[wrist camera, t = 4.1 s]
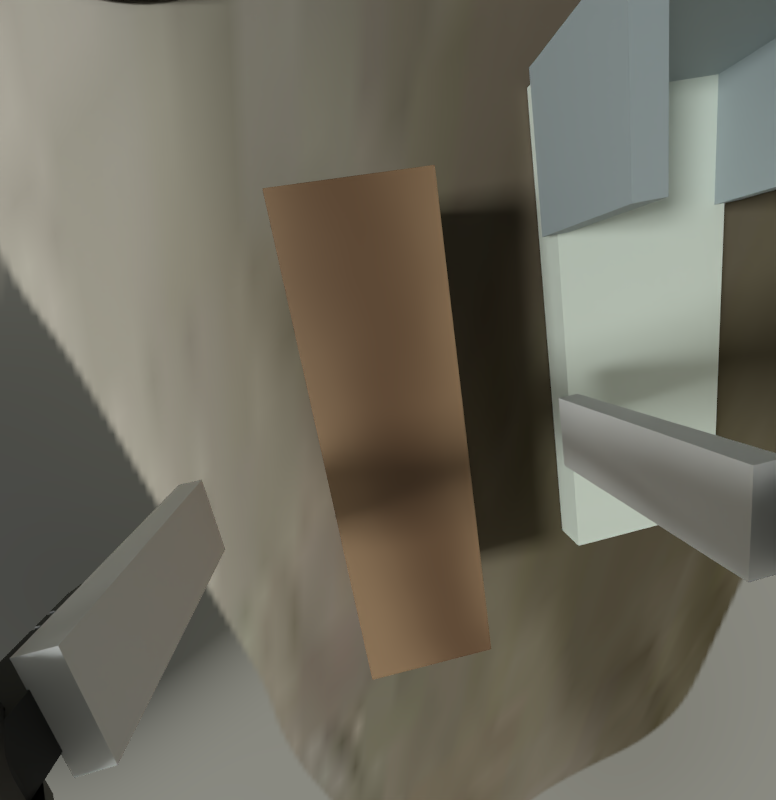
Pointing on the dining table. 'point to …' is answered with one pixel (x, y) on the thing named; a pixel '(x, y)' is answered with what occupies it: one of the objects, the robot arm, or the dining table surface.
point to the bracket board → (644, 207)
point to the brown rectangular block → (387, 406)
